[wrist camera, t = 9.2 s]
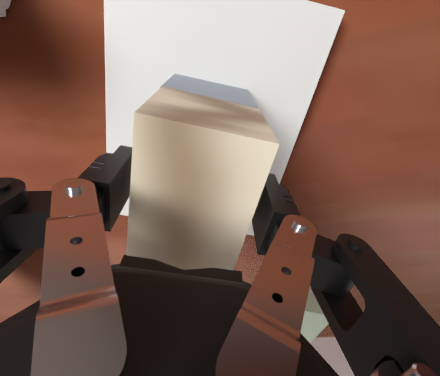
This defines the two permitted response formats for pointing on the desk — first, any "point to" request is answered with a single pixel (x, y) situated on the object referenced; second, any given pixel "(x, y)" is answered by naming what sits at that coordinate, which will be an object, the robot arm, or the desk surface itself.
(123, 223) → the desk surface
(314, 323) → the sage brick
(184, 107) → the birch brick
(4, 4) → the photo printer
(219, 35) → the tower base
